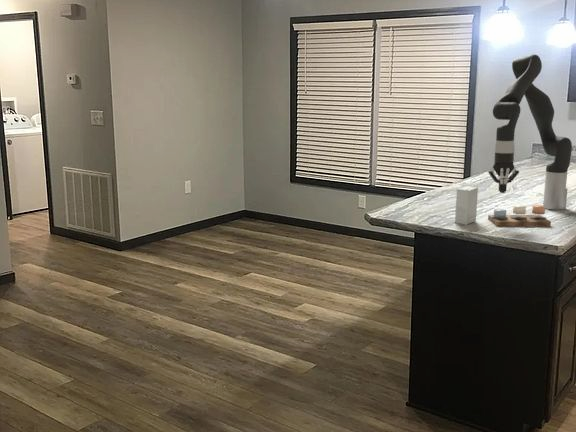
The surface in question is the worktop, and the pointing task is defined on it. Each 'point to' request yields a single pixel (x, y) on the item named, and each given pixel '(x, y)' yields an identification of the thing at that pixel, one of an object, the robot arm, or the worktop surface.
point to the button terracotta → (538, 209)
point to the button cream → (519, 209)
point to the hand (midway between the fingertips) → (502, 192)
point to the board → (520, 220)
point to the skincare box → (466, 205)
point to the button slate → (499, 213)
